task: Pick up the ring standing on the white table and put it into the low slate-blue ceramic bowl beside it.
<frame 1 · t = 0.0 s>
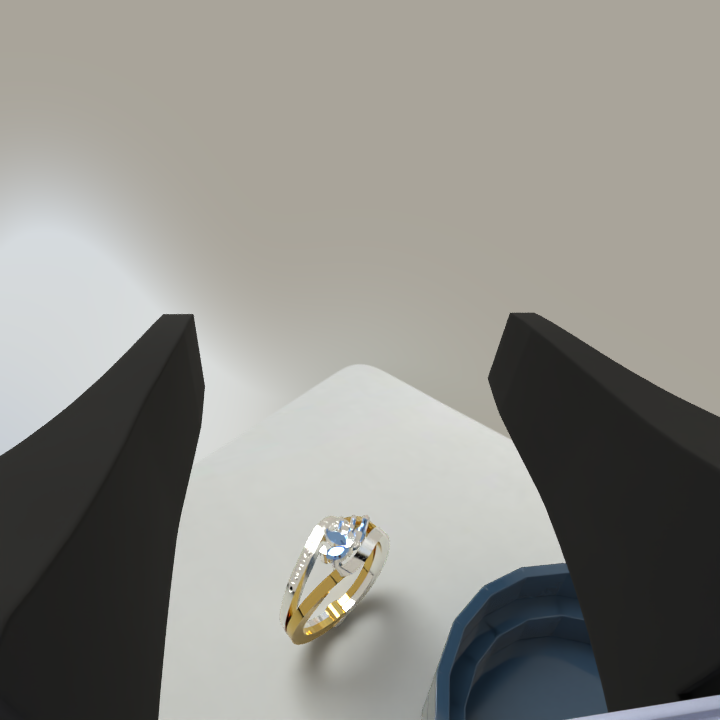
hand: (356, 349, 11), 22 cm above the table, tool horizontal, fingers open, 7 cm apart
ring: (335, 620, 27), on the table
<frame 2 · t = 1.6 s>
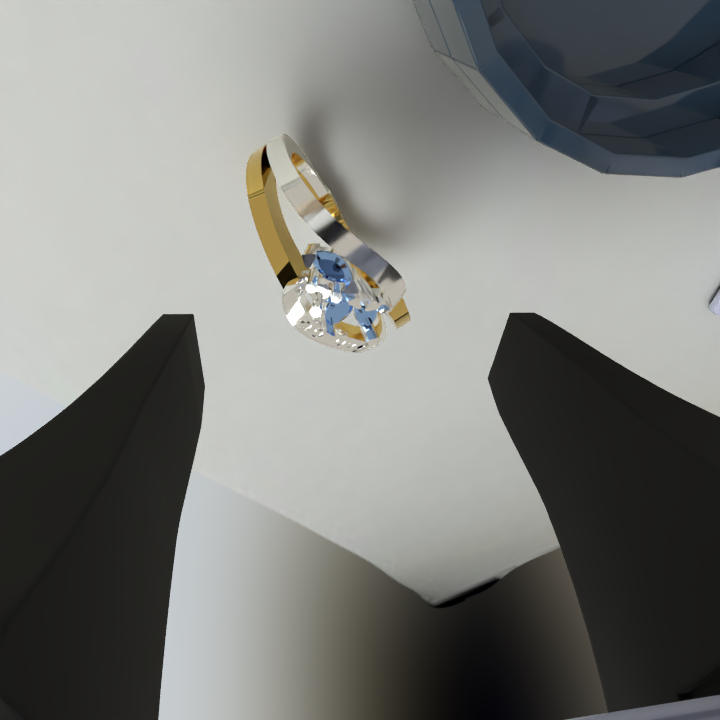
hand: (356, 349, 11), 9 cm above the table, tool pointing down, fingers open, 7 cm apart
ring: (323, 198, 18), on the table
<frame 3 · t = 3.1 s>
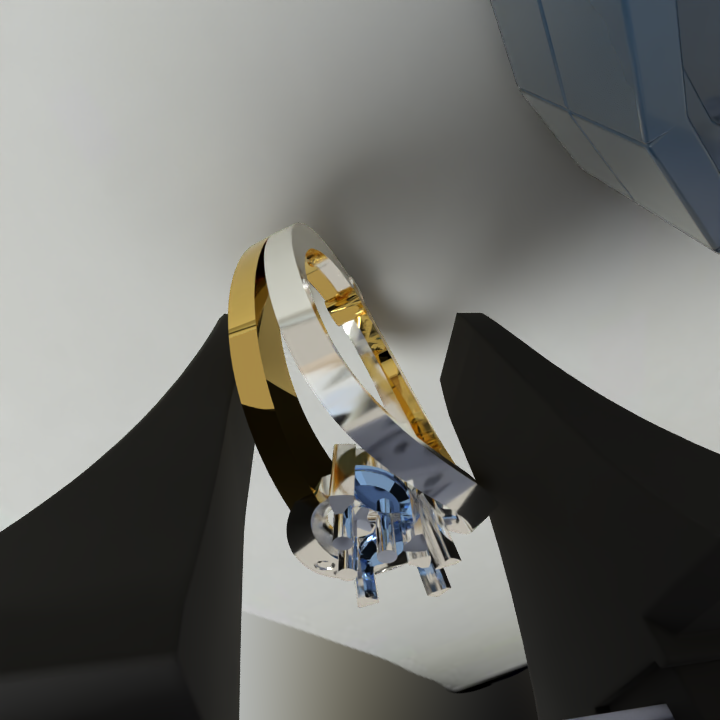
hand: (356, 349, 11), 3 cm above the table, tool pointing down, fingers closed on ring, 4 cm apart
ring: (342, 286, 13), on the table, touching gripper
when the fingers open (3 cm above the table, at t = 7.6 s): ring stays where it is, resting on bowl.
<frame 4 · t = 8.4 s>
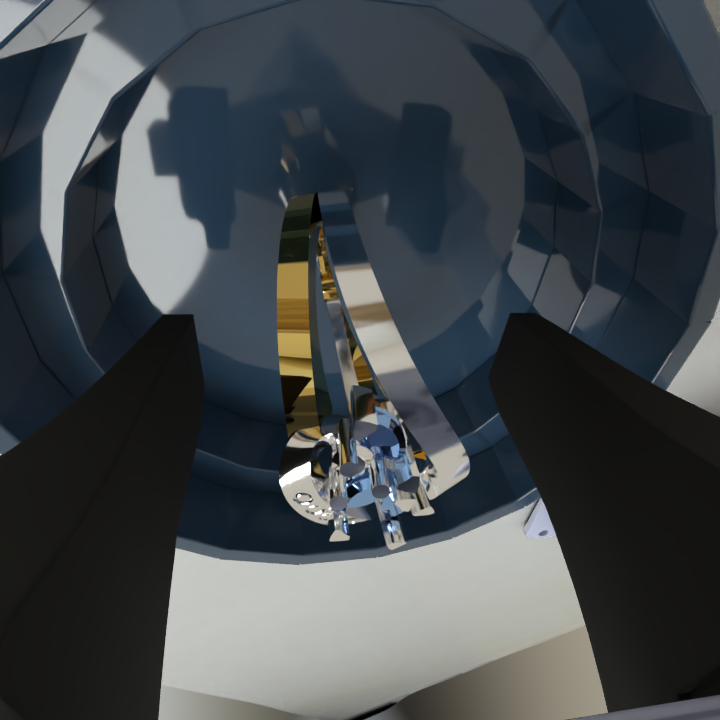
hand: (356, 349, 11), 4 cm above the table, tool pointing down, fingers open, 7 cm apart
bowl: (337, 264, 14), on the table
ring: (334, 268, 14), resting on bowl
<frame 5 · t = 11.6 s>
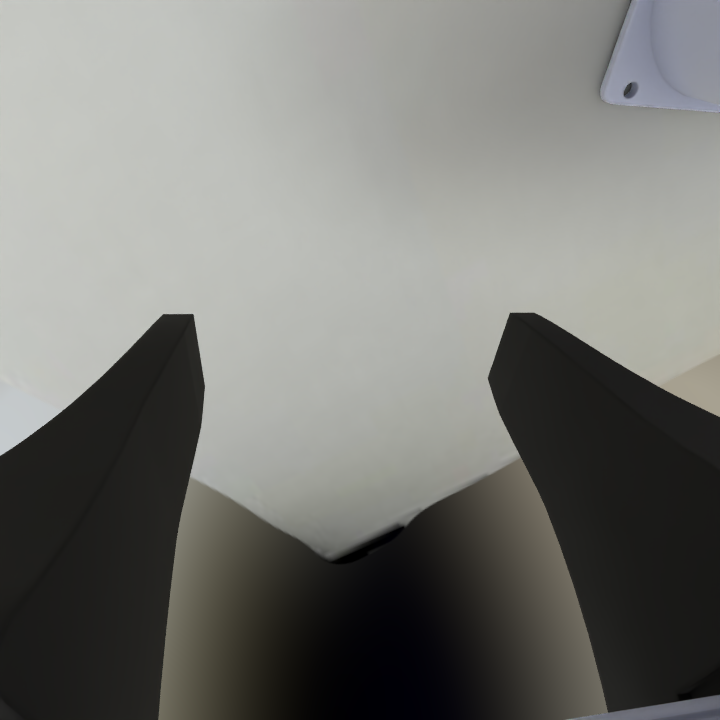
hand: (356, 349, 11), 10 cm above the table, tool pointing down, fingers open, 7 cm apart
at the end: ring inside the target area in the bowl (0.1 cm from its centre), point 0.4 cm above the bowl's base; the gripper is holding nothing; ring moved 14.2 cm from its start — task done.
